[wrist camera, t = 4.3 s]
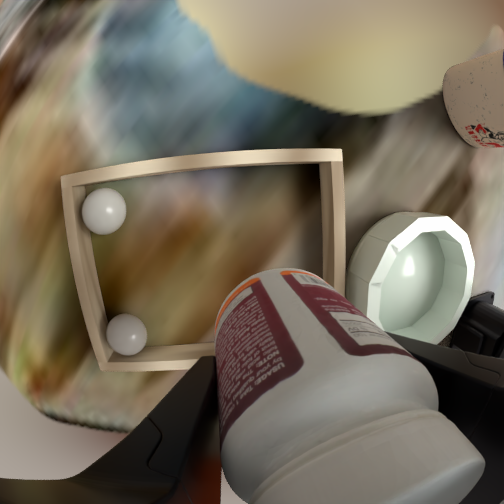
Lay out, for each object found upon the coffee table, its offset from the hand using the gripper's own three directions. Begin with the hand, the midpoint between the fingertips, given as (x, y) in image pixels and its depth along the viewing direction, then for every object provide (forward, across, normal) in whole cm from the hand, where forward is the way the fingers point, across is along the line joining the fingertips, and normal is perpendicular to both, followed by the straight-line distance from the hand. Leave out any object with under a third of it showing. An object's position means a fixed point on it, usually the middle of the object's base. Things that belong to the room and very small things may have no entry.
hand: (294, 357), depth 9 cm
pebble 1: (+11, +9, -4) cm, 15 cm away
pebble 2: (+11, +9, +4) cm, 15 cm away
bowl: (+12, -13, +3) cm, 18 cm away
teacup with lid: (+13, -24, -13) cm, 30 cm away
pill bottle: (+2, 0, 0) cm, 2 cm away
